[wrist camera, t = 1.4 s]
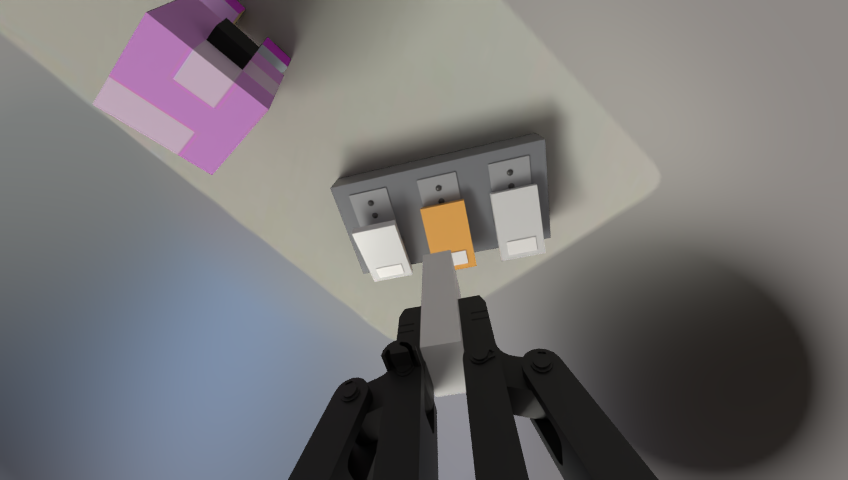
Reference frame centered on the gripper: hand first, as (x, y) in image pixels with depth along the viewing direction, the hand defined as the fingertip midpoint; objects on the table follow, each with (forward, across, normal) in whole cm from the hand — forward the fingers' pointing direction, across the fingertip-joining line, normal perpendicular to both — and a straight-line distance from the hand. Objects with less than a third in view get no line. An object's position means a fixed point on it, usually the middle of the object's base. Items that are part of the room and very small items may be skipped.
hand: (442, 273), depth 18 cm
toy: (+24, -17, +14) cm, 32 cm away
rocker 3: (+20, +8, -8) cm, 23 cm away
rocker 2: (+20, 0, -8) cm, 21 cm away
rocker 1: (+20, -8, -8) cm, 23 cm away
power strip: (+24, 0, -5) cm, 24 cm away
